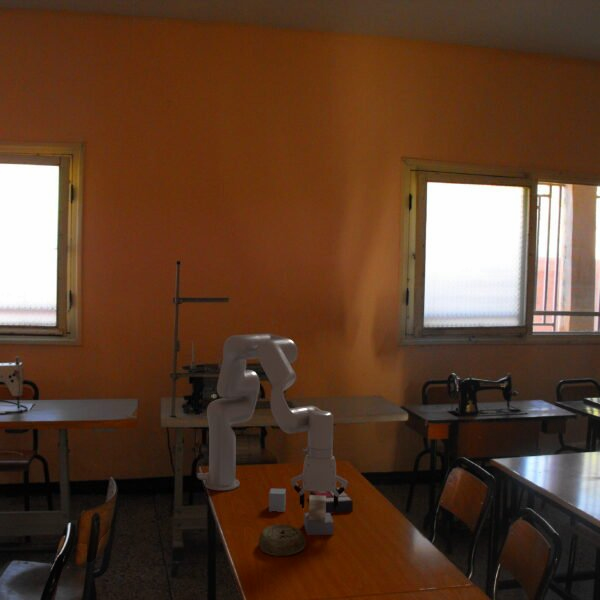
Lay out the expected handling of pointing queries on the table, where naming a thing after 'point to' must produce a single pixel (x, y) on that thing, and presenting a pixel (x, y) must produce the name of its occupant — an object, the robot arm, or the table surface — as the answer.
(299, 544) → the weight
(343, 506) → the red and white box
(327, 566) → the table surface
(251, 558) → the table surface
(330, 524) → the slate base block
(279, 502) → the gray block
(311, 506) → the maple block
